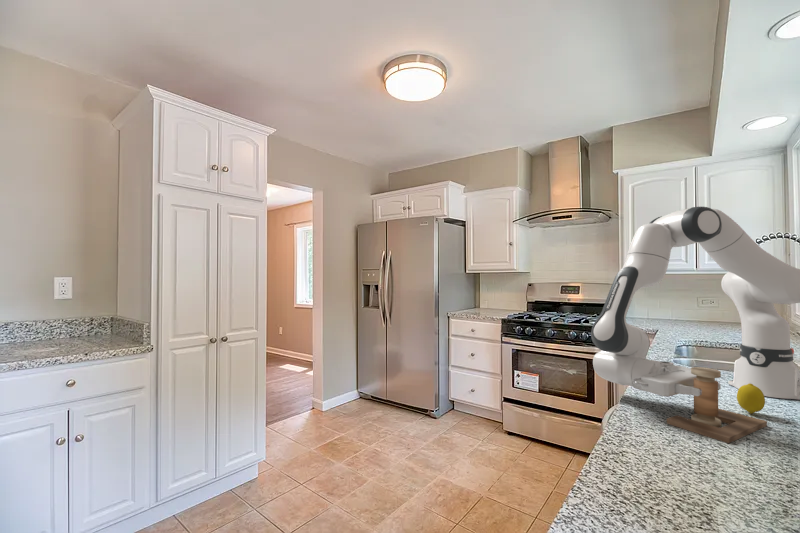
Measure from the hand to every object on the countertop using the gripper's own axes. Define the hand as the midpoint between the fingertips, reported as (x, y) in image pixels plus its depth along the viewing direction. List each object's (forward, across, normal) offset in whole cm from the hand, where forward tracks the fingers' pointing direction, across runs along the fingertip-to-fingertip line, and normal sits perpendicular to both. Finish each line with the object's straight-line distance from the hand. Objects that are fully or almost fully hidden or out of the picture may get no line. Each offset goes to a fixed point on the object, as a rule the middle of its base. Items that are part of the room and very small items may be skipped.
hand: (710, 389), depth 95 cm
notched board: (+1, +1, +8) cm, 9 cm away
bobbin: (-1, 0, +8) cm, 9 cm away
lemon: (+2, +18, +9) cm, 20 cm away
